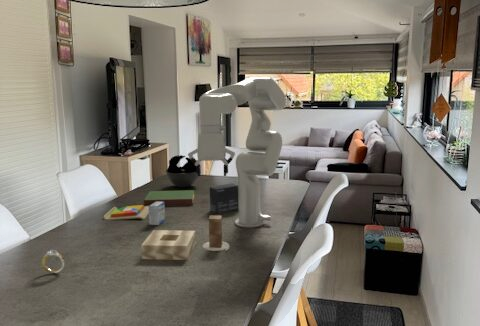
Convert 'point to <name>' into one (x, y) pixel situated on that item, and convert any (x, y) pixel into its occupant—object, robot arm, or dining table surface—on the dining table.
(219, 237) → the walnut peg
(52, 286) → the dining table surface
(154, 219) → the medicine box
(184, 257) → the birch pocket block
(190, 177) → the bowl of black rocks
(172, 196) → the hardcover book
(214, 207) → the small box
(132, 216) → the wooden puzzle
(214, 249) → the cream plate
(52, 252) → the bracelet
